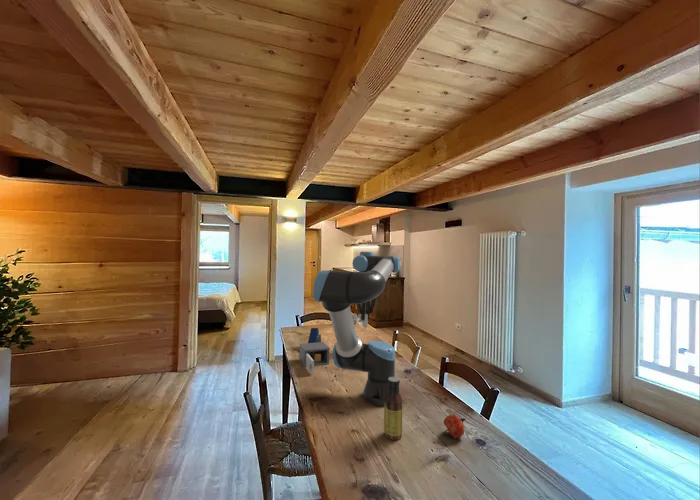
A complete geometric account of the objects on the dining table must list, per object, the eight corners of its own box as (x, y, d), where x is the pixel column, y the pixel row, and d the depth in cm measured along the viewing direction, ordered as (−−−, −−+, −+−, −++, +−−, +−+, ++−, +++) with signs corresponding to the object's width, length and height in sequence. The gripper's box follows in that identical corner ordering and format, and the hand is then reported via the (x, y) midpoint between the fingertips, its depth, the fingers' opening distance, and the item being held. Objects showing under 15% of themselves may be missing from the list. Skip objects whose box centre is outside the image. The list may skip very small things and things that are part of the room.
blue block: (321, 344, 206) (320, 324, 202) (315, 363, 188) (314, 343, 183) (313, 343, 207) (312, 324, 202) (306, 363, 188) (304, 342, 184)
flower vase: (370, 355, 186) (371, 314, 186) (342, 359, 179) (343, 316, 179) (361, 349, 198) (362, 310, 198) (334, 352, 191) (335, 312, 191)
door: (310, 374, 153) (311, 361, 153) (304, 365, 165) (304, 353, 165) (313, 373, 154) (314, 360, 154) (307, 365, 165) (307, 353, 165)
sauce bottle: (390, 428, 110) (391, 373, 110) (405, 435, 106) (407, 377, 106) (379, 436, 105) (381, 378, 105) (395, 444, 101) (397, 383, 101)
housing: (329, 364, 170) (329, 348, 170) (304, 367, 165) (304, 350, 165) (322, 357, 181) (323, 341, 181) (299, 359, 176) (299, 344, 176)
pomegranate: (446, 448, 103) (472, 434, 101) (433, 427, 105) (458, 413, 103) (448, 438, 110) (472, 425, 108) (435, 418, 112) (459, 405, 110)
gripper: (374, 280, 165) (373, 324, 165) (351, 280, 160) (350, 325, 160) (380, 281, 158) (379, 327, 158) (357, 282, 153) (356, 329, 153)
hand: (365, 326), depth 159 cm, fingers closed
